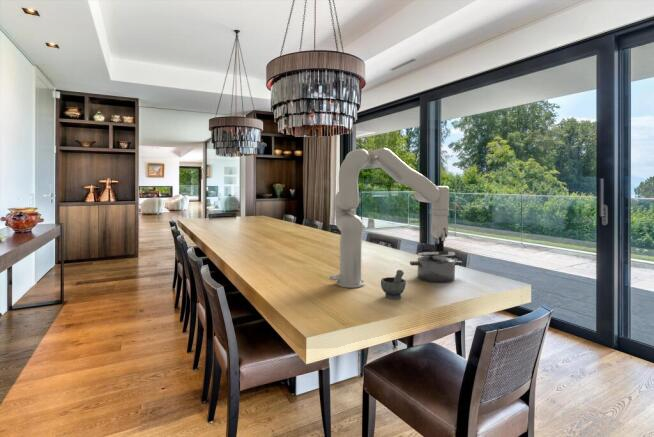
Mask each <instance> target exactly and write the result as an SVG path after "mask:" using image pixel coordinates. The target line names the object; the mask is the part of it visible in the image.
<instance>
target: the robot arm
mask: <svg viewBox="0 0 654 437" xmlns="http://www.w3.org/2000/svg"><path fill="white" fill-rule="evenodd" d="M378 168H379V169H381V170H382V171H384V172H385V173H386V174H387V175H388V176H390V178H392V179H393V180H394V181H395V182H396V183H398V184H401V185H403V186H406V187H409V188H410V189H413V190H414V191H413V197H414V199H415V200H416V201H418V202H422V203H431V222H430V223H431V226H430V235H431V236H432V237H434V238H435V240H434V242H435V249H436V252H440V251H444V250H445V248H444V244H445V241H446V238H448V237H449V220H448V217H450V187H449V186H447V185H436V184H434V183H433V182H432V181H431V180H430V179H429V178H428V177H426V176H425V175H423V174H422V173H420V172H418V171H417V170H415V169H413V168H411V167H410V166H409V165H407V164H406V162H404V161H403V160H402V159H401V158H400V157H398V155H396V154H395V153H394V152H393V151H392V150H391V149H389V148H387V147H379V148H377V149H371V150H366V149H364V148H356V149H354V150H351V151H349V152H348V153H347V154H346V156H345V158H344V159H343V161H342V163H341V164H340V167H339V170H338V191H337V193H335V196H334V215H335V217H334V218H335V224H336V225H335V226H336V227H337V230H339V231H340V239H339V240H340V241H339V257H340V258H339V272H338V274H336V275H333V274H331V275H329V280H332V281H336V285H337V286H338V287H341V288H349V289H350V288H362V287H363V286H364V285H365V280H363V279H362V243H363V242H362V241H363V234H364V232H363V231H364V225H363V224H364V223H363V220H362V219H361V218H360V217H359V216H358V215H356V213H355V212H356V209H357V208H358V207H359V204H360V193H359V174H360V172H361V171H362V170H369V169H378Z"/></svg>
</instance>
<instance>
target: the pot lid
mask: <svg viewBox="0 0 654 437" xmlns="http://www.w3.org/2000/svg"><path fill="white" fill-rule="evenodd" d="M455 255H456V253H455V251H440V252H436V248H435V249H432V251H424V252H423V251H422V252H418V253H417V257H425V256H438V257H447V256H448V257H449V256H455Z"/></svg>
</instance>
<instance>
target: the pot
mask: <svg viewBox="0 0 654 437" xmlns="http://www.w3.org/2000/svg"><path fill="white" fill-rule="evenodd" d="M463 264H464V263H463V261H461V260H455V259H454V258H450V257H447V256H418V258H417V260H416V261H415V260H414V261H413V260H411V261H409V265H410V266H417V274H416V276H417V279H419V280H420V281H423V282H428V283H432V284H433V283H434V284H446V283H447V284H448V283H452V282H454V281H455V280H456V279H455V278H456V277H455V275H456V274H455V273H456V266H463Z"/></svg>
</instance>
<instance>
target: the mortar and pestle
mask: <svg viewBox="0 0 654 437" xmlns="http://www.w3.org/2000/svg"><path fill="white" fill-rule="evenodd" d="M404 274H405V272H404V271H403V270H402V269H397V270H396V274H395V276H393V277H390V276H387V277H383V278H381V279H380V287H381V289H382V291H383V292H384V293H385V296H384V298H386V299H387V300H395V301H396V300H400V299H401V298H402V293H404V291H405V289H406V284H407V282H406V281H407V280H406V279H404V278H403V276H404Z"/></svg>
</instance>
